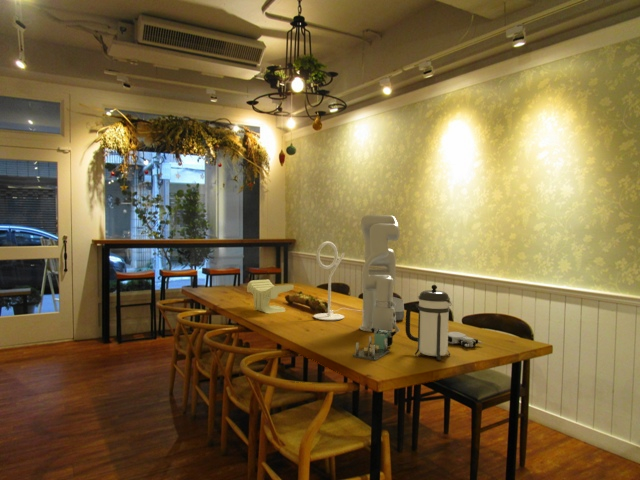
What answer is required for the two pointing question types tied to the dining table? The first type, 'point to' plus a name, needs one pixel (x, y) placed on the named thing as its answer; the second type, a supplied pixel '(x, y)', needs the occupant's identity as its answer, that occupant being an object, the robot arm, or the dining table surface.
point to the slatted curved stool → (266, 294)
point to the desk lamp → (329, 282)
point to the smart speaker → (398, 308)
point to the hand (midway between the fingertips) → (383, 344)
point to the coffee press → (431, 323)
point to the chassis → (371, 351)
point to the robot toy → (462, 339)
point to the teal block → (381, 339)
